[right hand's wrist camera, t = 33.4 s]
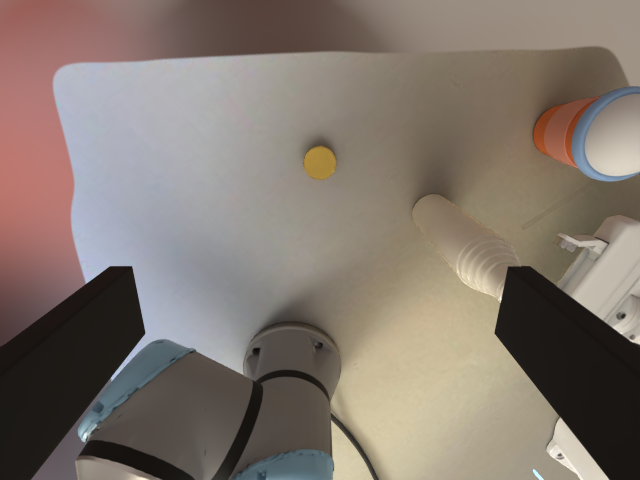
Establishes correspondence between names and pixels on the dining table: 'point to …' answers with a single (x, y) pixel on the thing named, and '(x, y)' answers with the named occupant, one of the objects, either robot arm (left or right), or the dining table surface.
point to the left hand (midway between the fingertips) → (534, 272)
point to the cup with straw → (595, 134)
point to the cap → (319, 162)
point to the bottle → (465, 244)
